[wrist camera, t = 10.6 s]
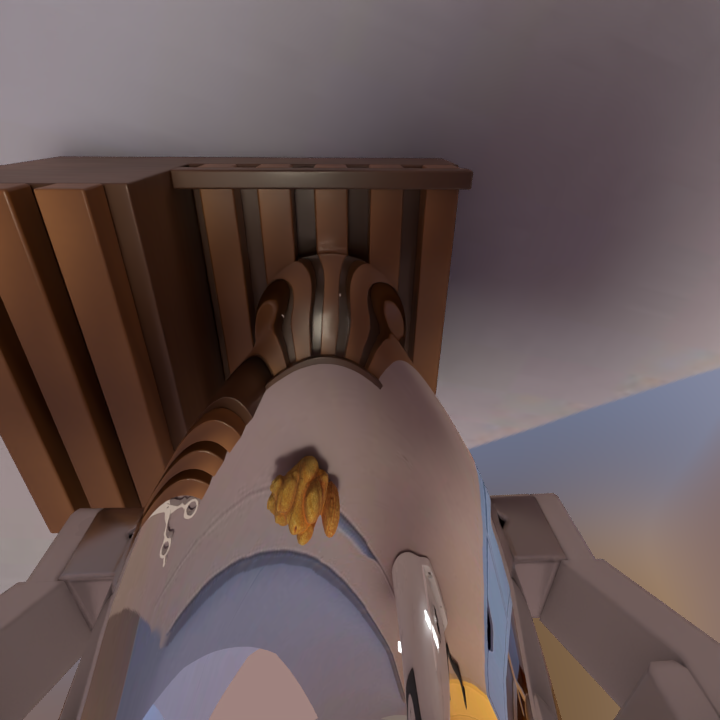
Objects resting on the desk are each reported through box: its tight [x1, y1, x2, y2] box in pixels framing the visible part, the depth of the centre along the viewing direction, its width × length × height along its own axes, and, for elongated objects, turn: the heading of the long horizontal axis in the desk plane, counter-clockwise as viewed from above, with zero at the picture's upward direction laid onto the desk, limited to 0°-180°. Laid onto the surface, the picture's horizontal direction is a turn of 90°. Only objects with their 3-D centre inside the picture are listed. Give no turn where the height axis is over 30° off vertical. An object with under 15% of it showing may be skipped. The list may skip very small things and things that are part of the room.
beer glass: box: [58, 254, 562, 720], centre depth 11 cm, size 7×7×15 cm
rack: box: [0, 156, 473, 533], centre depth 17 cm, size 16×12×9 cm
